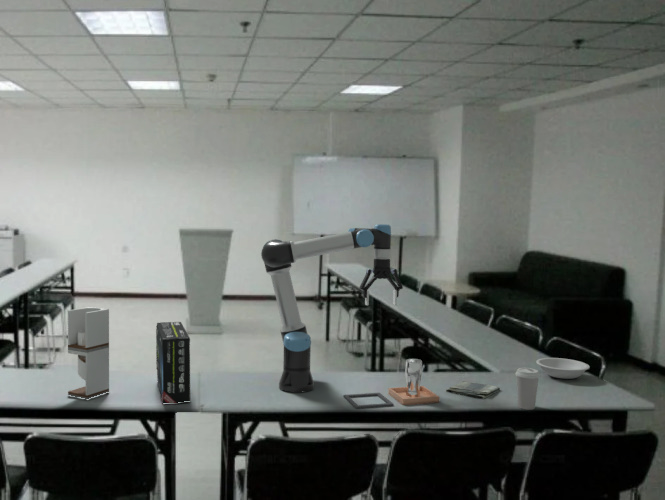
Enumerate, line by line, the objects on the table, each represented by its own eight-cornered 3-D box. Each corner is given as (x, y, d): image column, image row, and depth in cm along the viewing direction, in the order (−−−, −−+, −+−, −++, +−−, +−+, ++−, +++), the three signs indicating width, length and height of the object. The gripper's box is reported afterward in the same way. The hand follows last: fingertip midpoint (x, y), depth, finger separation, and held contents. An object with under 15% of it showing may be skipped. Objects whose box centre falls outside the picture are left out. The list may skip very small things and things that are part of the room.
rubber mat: (355, 408, 246) (355, 406, 246) (343, 396, 262) (343, 394, 262) (393, 405, 251) (393, 403, 251) (379, 394, 266) (379, 392, 266)
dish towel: (462, 384, 287) (463, 377, 287) (500, 391, 277) (500, 384, 276) (444, 393, 272) (444, 386, 272) (484, 401, 262) (484, 393, 261)
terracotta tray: (402, 405, 252) (403, 399, 252) (388, 393, 267) (388, 388, 267) (439, 402, 257) (439, 396, 256) (422, 391, 272) (423, 385, 272)
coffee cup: (540, 411, 248) (541, 374, 247) (514, 409, 249) (516, 372, 249) (537, 404, 257) (538, 368, 256) (513, 402, 259) (514, 366, 258)
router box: (155, 381, 278) (155, 321, 277) (181, 380, 282) (181, 320, 280) (162, 406, 245) (162, 338, 243) (191, 403, 249) (191, 336, 247)
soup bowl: (597, 384, 289) (598, 370, 289) (544, 383, 289) (545, 369, 289) (577, 371, 313) (578, 358, 312) (529, 370, 313) (529, 357, 313)
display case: (90, 389, 265) (90, 306, 262) (109, 393, 260) (108, 309, 258) (68, 396, 254) (67, 310, 252) (87, 400, 250) (86, 312, 247)
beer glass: (423, 395, 264) (424, 359, 263) (418, 399, 257) (419, 363, 256) (407, 392, 267) (408, 357, 266) (402, 397, 260) (403, 361, 259)
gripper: (404, 257, 293) (402, 302, 295) (353, 257, 286) (352, 304, 287) (410, 258, 286) (409, 305, 287) (358, 259, 279) (357, 306, 280)
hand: (380, 304), depth 287 cm, fingers open, 13 cm apart
